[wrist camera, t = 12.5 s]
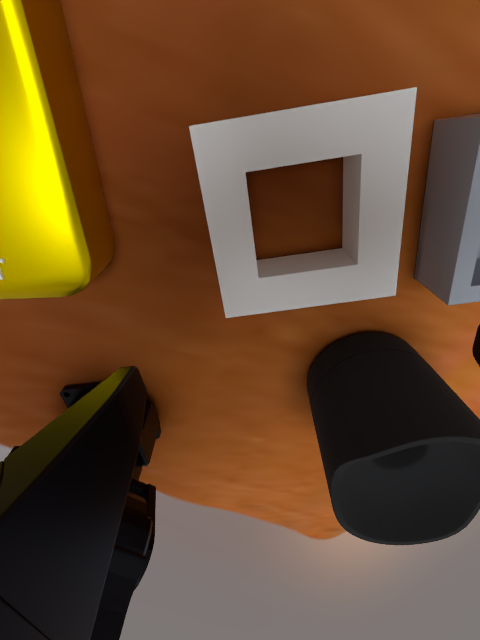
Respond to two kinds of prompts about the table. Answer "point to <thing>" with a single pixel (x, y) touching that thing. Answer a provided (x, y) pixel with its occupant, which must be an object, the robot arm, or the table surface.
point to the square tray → (452, 213)
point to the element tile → (46, 161)
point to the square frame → (358, 199)
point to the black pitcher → (393, 442)
